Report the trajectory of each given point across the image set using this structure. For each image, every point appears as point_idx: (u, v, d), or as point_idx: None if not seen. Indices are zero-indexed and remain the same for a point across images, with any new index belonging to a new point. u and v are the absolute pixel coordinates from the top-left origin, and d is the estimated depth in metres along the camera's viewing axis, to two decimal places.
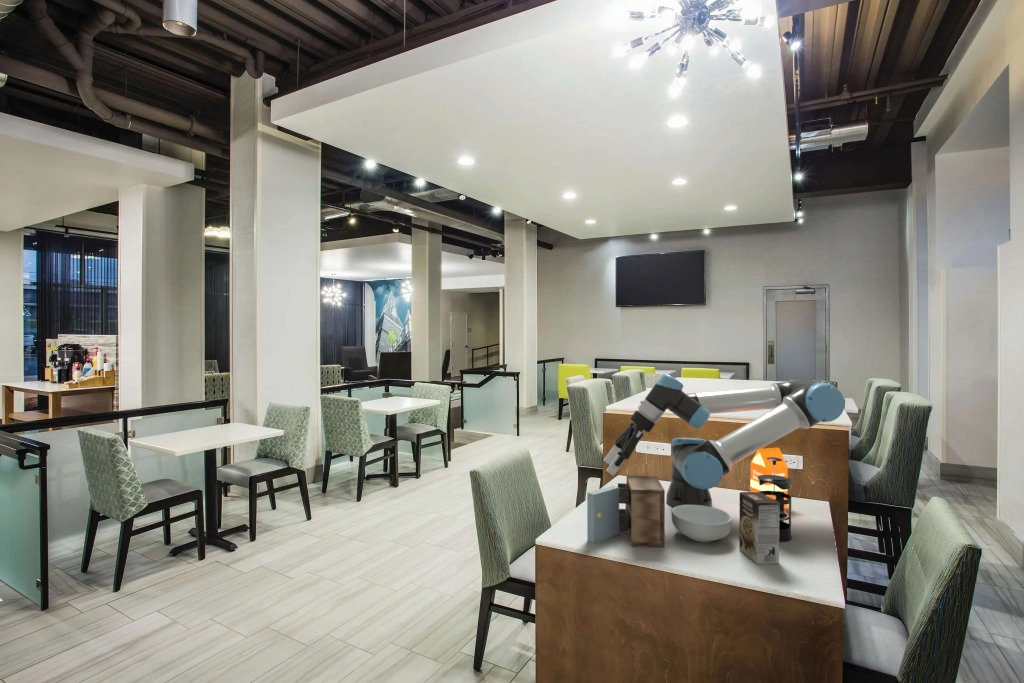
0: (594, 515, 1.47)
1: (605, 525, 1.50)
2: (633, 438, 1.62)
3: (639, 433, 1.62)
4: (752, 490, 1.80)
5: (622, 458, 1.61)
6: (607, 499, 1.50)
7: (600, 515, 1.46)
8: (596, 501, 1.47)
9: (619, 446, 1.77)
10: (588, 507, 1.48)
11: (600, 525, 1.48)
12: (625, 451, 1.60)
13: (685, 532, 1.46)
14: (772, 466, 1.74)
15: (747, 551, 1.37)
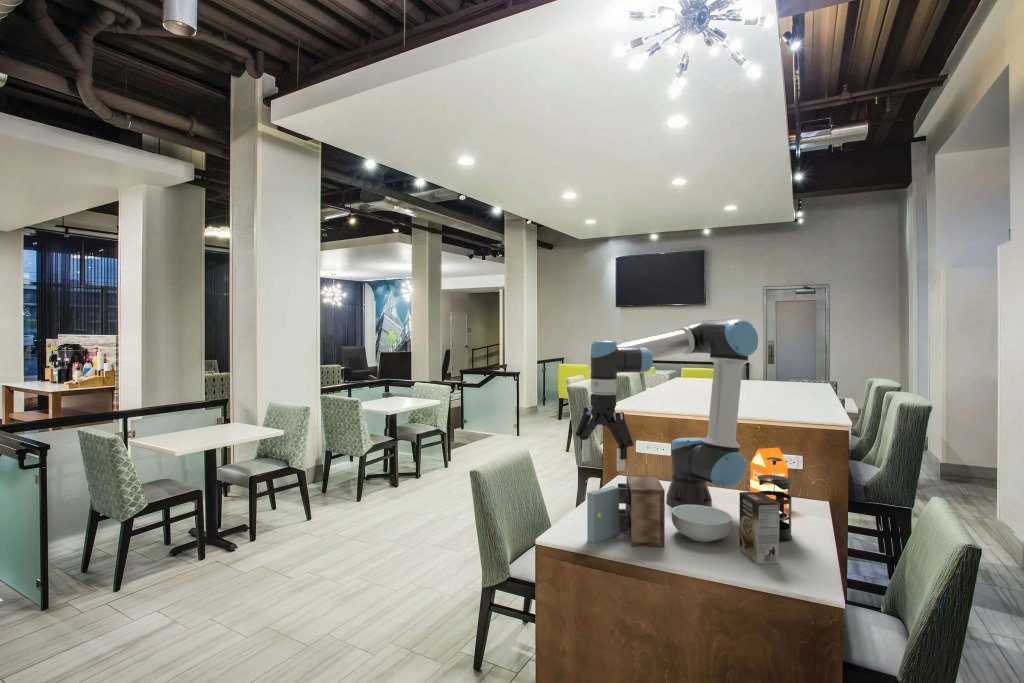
0: (594, 515, 1.47)
1: (605, 525, 1.50)
2: (621, 423, 1.44)
3: (621, 414, 1.45)
4: (752, 490, 1.80)
5: (625, 448, 1.44)
6: (607, 499, 1.50)
7: (600, 515, 1.46)
8: (596, 501, 1.47)
9: (586, 437, 1.57)
10: (588, 507, 1.48)
11: (600, 525, 1.48)
12: (627, 440, 1.43)
13: (685, 532, 1.46)
14: (772, 466, 1.74)
15: (747, 551, 1.37)
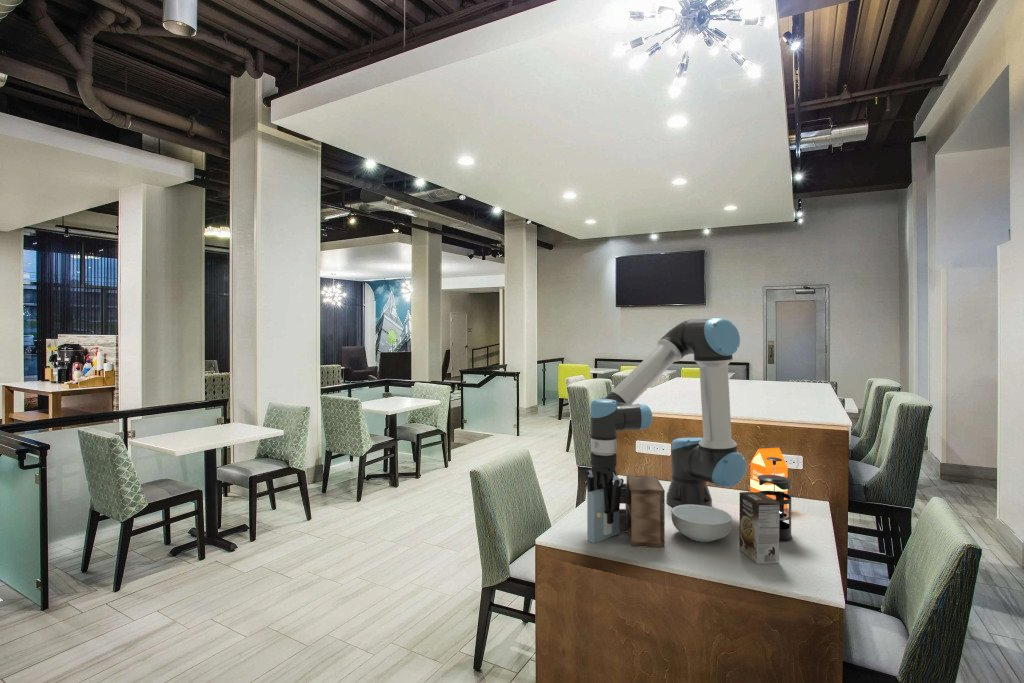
0: (594, 515, 1.47)
1: None
2: (616, 490, 1.46)
3: (620, 482, 1.46)
4: (752, 490, 1.80)
5: (612, 513, 1.48)
6: None
7: (600, 515, 1.46)
8: (596, 501, 1.47)
9: None
10: (588, 507, 1.48)
11: (600, 525, 1.48)
12: (615, 507, 1.46)
13: (685, 532, 1.46)
14: (772, 466, 1.74)
15: (747, 551, 1.37)
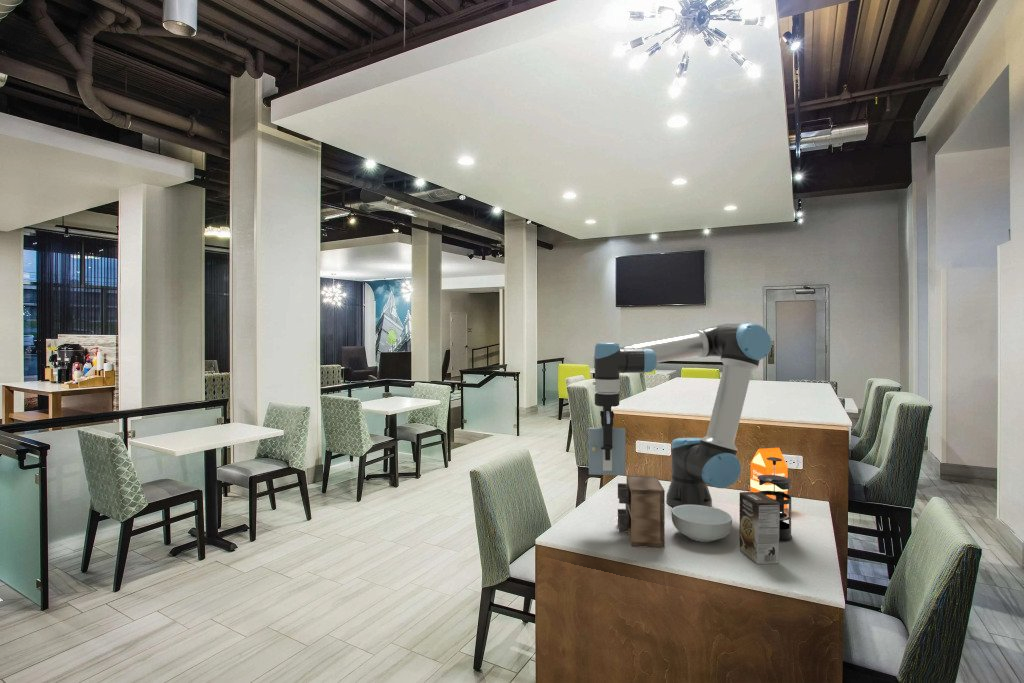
0: (590, 448, 1.57)
1: None
2: (606, 427, 1.52)
3: (608, 420, 1.52)
4: (752, 490, 1.80)
5: (608, 450, 1.55)
6: None
7: (594, 449, 1.56)
8: (592, 436, 1.57)
9: None
10: None
11: (598, 460, 1.57)
12: (605, 444, 1.53)
13: (685, 532, 1.46)
14: (772, 466, 1.74)
15: (747, 551, 1.37)
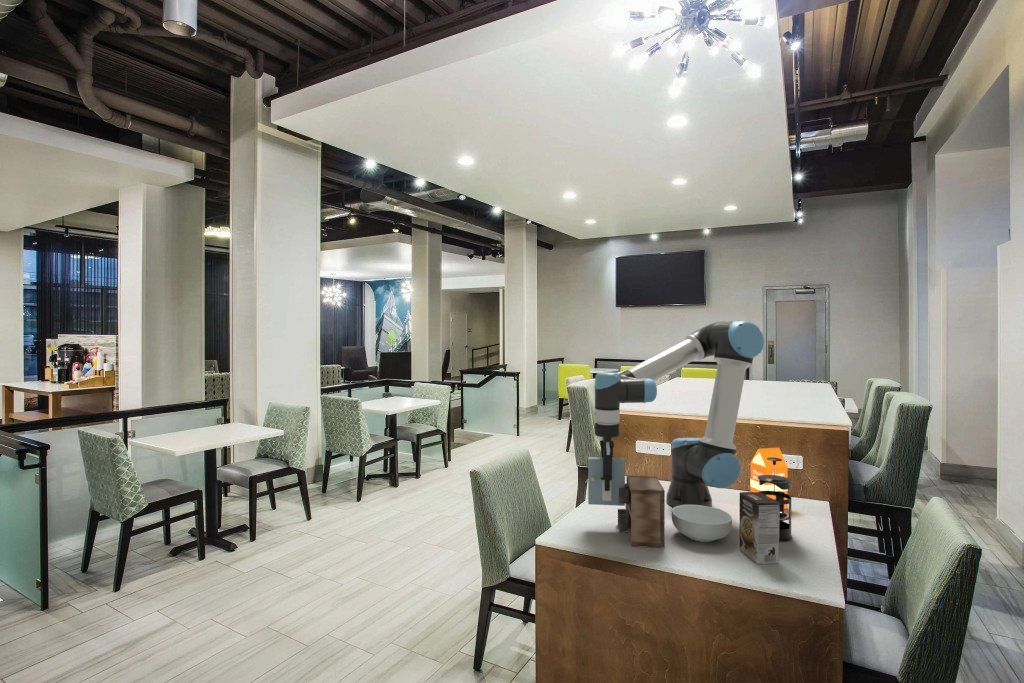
0: (589, 478, 1.58)
1: None
2: (605, 458, 1.53)
3: (608, 451, 1.52)
4: (752, 490, 1.80)
5: (607, 481, 1.55)
6: None
7: (593, 479, 1.56)
8: (592, 466, 1.57)
9: None
10: (588, 470, 1.60)
11: (597, 490, 1.57)
12: (605, 475, 1.53)
13: (685, 532, 1.46)
14: (772, 466, 1.74)
15: (747, 551, 1.37)
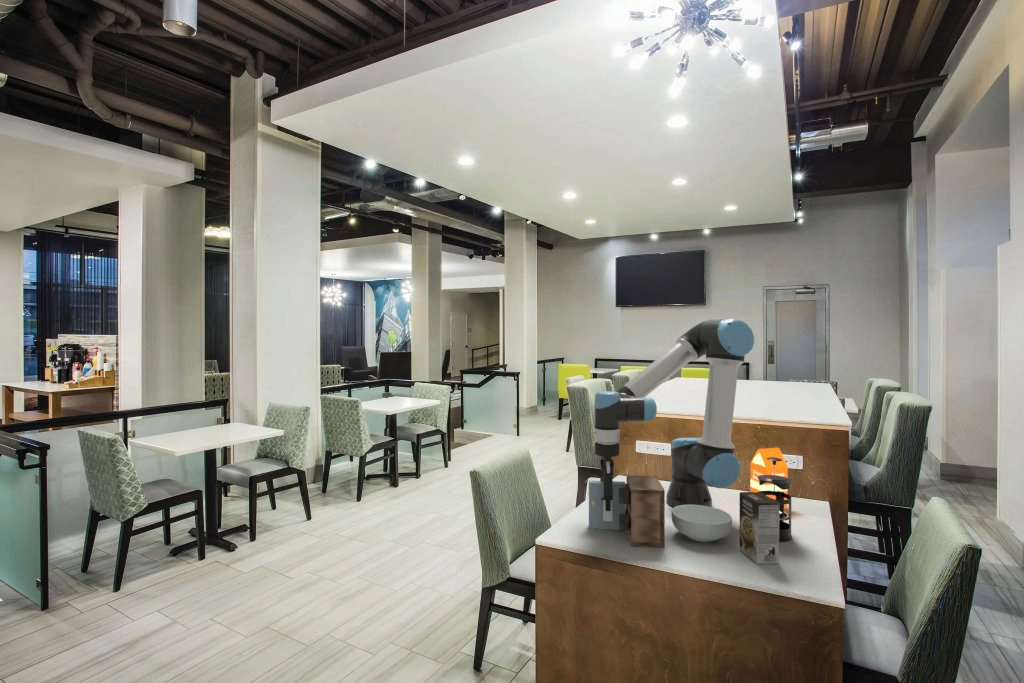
0: (590, 502, 1.58)
1: None
2: (606, 477, 1.52)
3: (608, 469, 1.52)
4: (752, 490, 1.80)
5: (608, 501, 1.53)
6: None
7: (594, 503, 1.57)
8: (593, 490, 1.58)
9: None
10: None
11: (598, 514, 1.58)
12: (605, 494, 1.52)
13: (685, 532, 1.46)
14: (772, 466, 1.74)
15: (747, 551, 1.37)
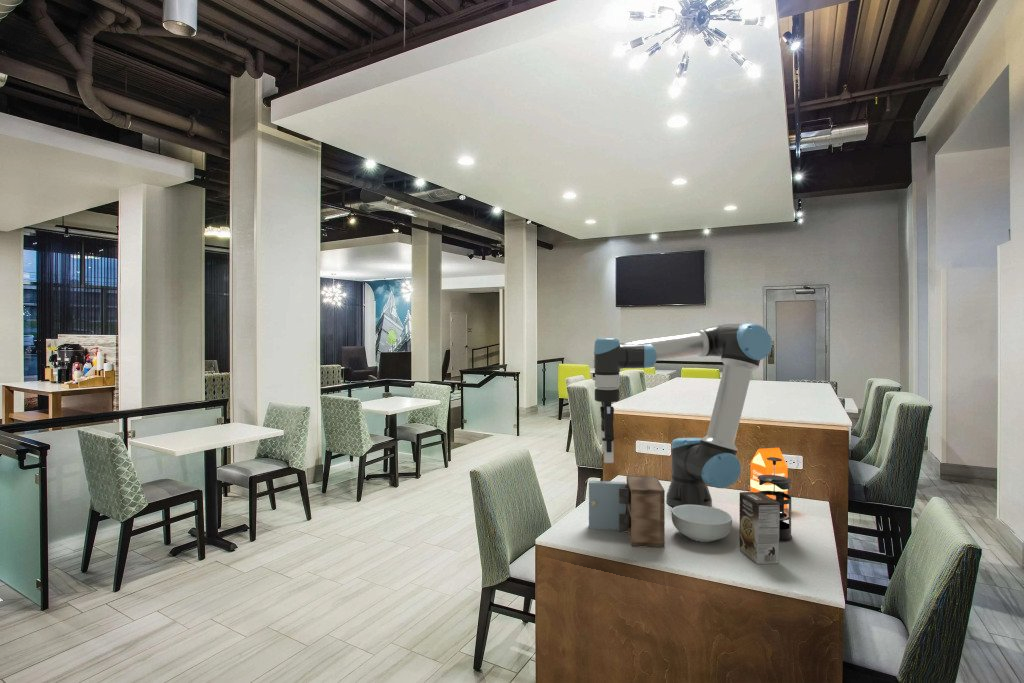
0: (590, 502, 1.58)
1: (605, 515, 1.57)
2: (606, 417, 1.51)
3: (608, 408, 1.51)
4: (752, 490, 1.80)
5: (609, 441, 1.50)
6: (608, 491, 1.57)
7: (594, 503, 1.56)
8: (593, 490, 1.58)
9: None
10: None
11: (598, 514, 1.58)
12: (606, 434, 1.49)
13: (685, 532, 1.46)
14: (772, 466, 1.74)
15: (747, 551, 1.37)
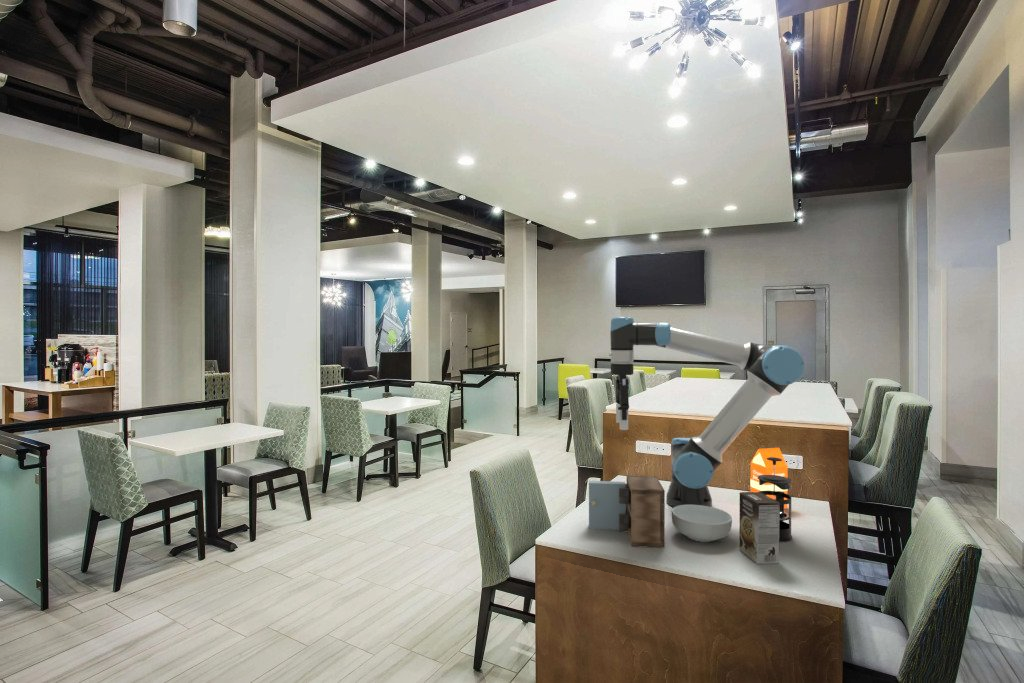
0: (590, 502, 1.58)
1: (605, 515, 1.57)
2: (622, 388, 1.65)
3: (624, 380, 1.66)
4: (752, 490, 1.80)
5: (624, 410, 1.64)
6: (608, 491, 1.57)
7: (594, 503, 1.56)
8: (593, 490, 1.58)
9: None
10: None
11: (598, 514, 1.58)
12: (622, 403, 1.63)
13: (685, 532, 1.46)
14: (772, 466, 1.74)
15: (747, 551, 1.37)
